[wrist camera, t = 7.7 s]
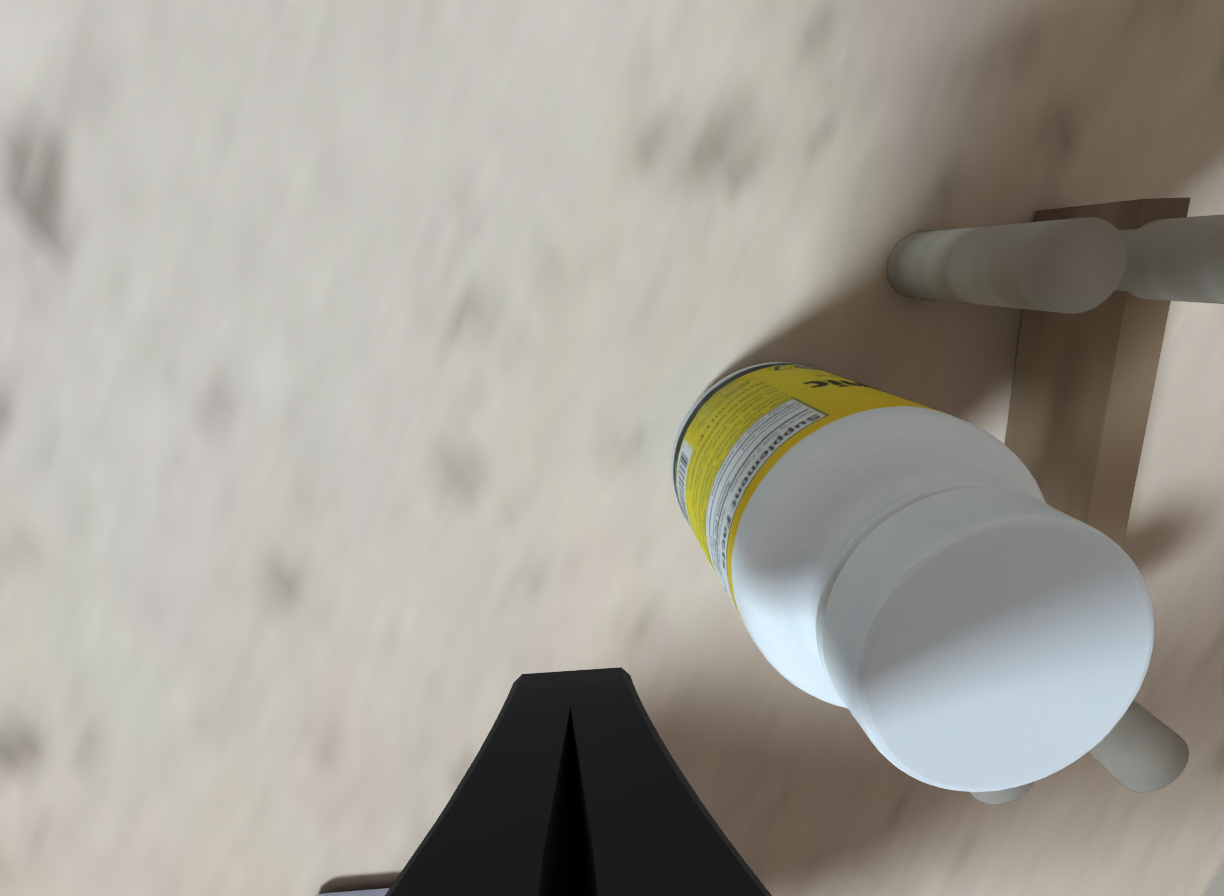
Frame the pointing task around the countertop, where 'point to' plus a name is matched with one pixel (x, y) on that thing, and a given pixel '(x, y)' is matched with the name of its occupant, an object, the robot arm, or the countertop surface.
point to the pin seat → (1082, 371)
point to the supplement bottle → (912, 575)
